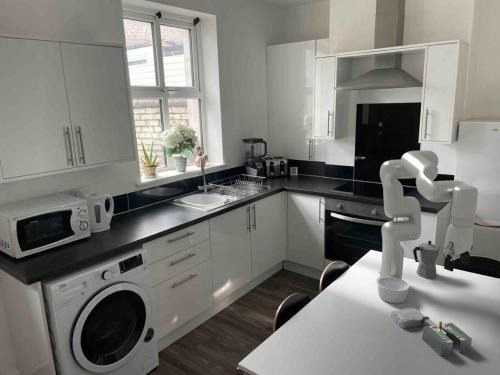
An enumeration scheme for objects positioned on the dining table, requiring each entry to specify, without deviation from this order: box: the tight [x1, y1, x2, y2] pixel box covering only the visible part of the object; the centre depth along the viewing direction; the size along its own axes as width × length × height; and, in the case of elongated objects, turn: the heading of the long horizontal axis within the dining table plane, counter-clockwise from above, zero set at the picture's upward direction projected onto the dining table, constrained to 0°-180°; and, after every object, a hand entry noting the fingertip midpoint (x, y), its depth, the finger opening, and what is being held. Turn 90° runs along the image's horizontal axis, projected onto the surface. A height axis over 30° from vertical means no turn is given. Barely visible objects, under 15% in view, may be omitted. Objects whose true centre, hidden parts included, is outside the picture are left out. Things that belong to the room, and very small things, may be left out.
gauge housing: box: [421, 322, 473, 357], centre depth 138 cm, size 10×12×5 cm
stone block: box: [390, 307, 427, 330], centre depth 154 cm, size 12×5×10 cm
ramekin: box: [376, 277, 410, 304], centre depth 171 cm, size 13×13×7 cm
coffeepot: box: [412, 240, 442, 279], centre depth 190 cm, size 15×9×18 cm, turn 103°
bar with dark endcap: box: [421, 316, 447, 336], centre depth 144 cm, size 11×2×6 cm, turn 12°
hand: (456, 266), depth 136 cm, fingers open, 9 cm apart
